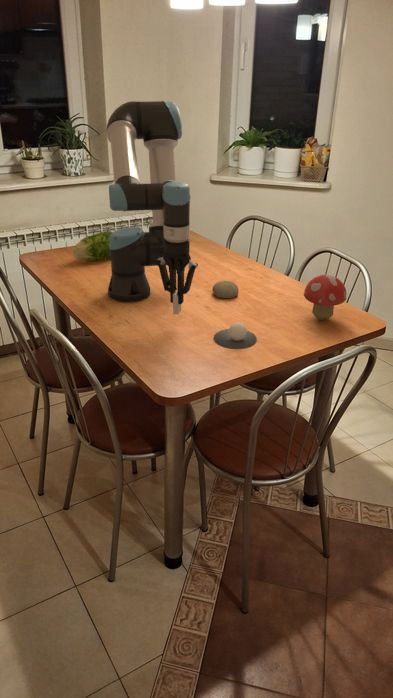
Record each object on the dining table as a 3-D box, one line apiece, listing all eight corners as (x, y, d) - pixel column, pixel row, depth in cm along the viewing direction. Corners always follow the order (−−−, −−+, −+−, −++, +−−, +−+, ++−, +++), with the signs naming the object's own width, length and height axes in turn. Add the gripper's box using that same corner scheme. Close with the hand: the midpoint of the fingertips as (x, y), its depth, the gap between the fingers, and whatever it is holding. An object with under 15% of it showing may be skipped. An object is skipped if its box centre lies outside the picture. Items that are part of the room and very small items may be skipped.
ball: (228, 324, 155) (245, 331, 154) (235, 316, 159) (251, 324, 158) (223, 339, 158) (240, 346, 157) (230, 331, 162) (246, 338, 161)
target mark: (207, 344, 157) (207, 343, 157) (221, 326, 167) (221, 325, 167) (249, 352, 152) (249, 351, 152) (261, 333, 163) (261, 332, 163)
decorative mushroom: (350, 326, 168) (357, 282, 161) (310, 329, 166) (315, 285, 158) (332, 309, 180) (338, 267, 172) (295, 312, 177) (299, 270, 170)
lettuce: (68, 262, 221) (65, 235, 216) (111, 252, 232) (109, 227, 227) (82, 269, 213) (79, 242, 208) (125, 259, 225) (124, 233, 219)
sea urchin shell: (239, 296, 185) (223, 279, 183) (223, 309, 189) (207, 293, 187) (242, 286, 193) (227, 270, 191) (226, 299, 196) (212, 284, 195)
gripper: (150, 239, 151) (152, 313, 163) (192, 245, 147) (192, 321, 159) (161, 232, 157) (163, 304, 169) (202, 237, 153) (200, 311, 165)
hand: (177, 312), depth 164 cm, fingers closed
